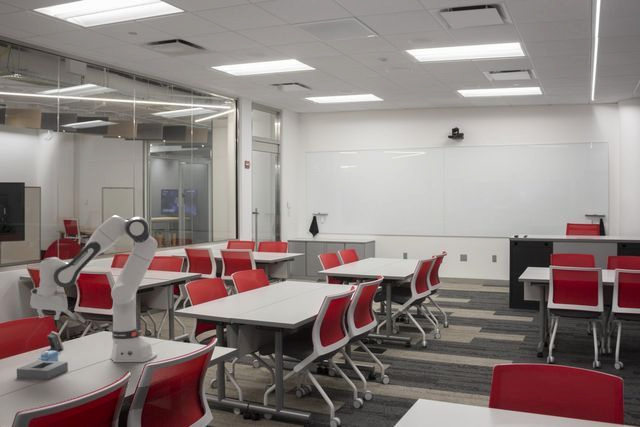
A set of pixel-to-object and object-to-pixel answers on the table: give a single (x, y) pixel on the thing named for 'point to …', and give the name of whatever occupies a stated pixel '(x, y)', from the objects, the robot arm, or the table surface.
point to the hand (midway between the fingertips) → (48, 318)
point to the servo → (49, 356)
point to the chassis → (42, 369)
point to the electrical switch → (55, 341)
